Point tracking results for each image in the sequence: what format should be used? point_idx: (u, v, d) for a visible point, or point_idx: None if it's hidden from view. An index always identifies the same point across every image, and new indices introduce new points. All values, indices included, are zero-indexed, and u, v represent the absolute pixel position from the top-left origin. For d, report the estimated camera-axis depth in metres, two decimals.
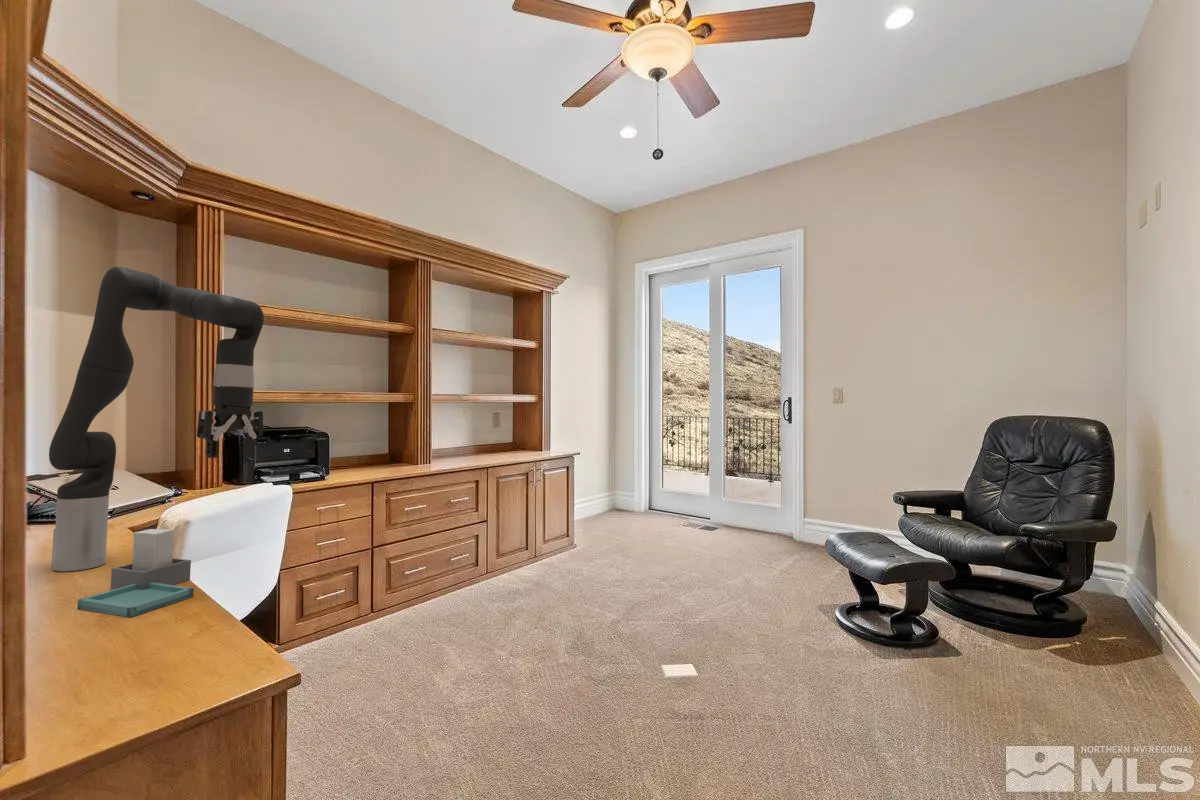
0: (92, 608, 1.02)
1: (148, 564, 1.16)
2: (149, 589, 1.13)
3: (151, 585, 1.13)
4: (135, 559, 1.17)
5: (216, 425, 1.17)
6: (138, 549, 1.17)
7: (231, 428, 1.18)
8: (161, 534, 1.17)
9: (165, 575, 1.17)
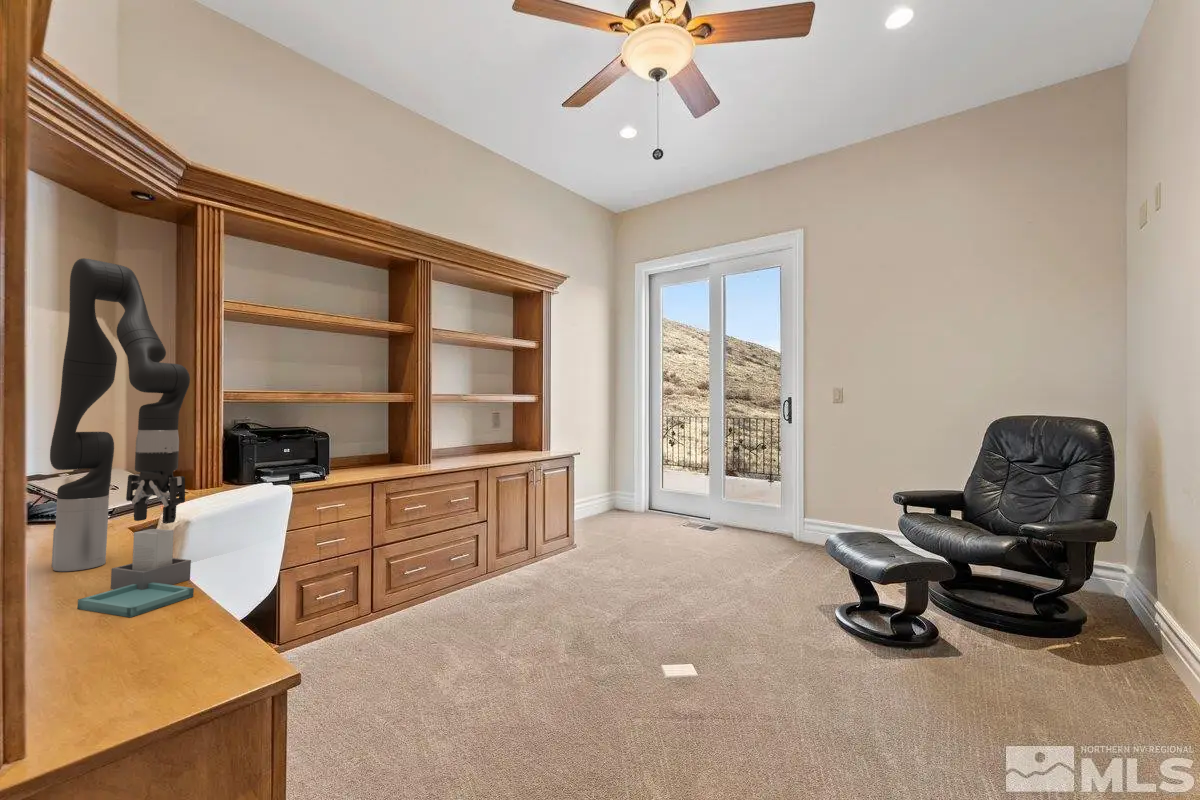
0: (92, 608, 1.02)
1: (148, 564, 1.16)
2: (149, 589, 1.13)
3: (151, 585, 1.13)
4: (135, 559, 1.17)
5: None
6: (138, 549, 1.17)
7: None
8: (161, 534, 1.17)
9: (165, 575, 1.17)
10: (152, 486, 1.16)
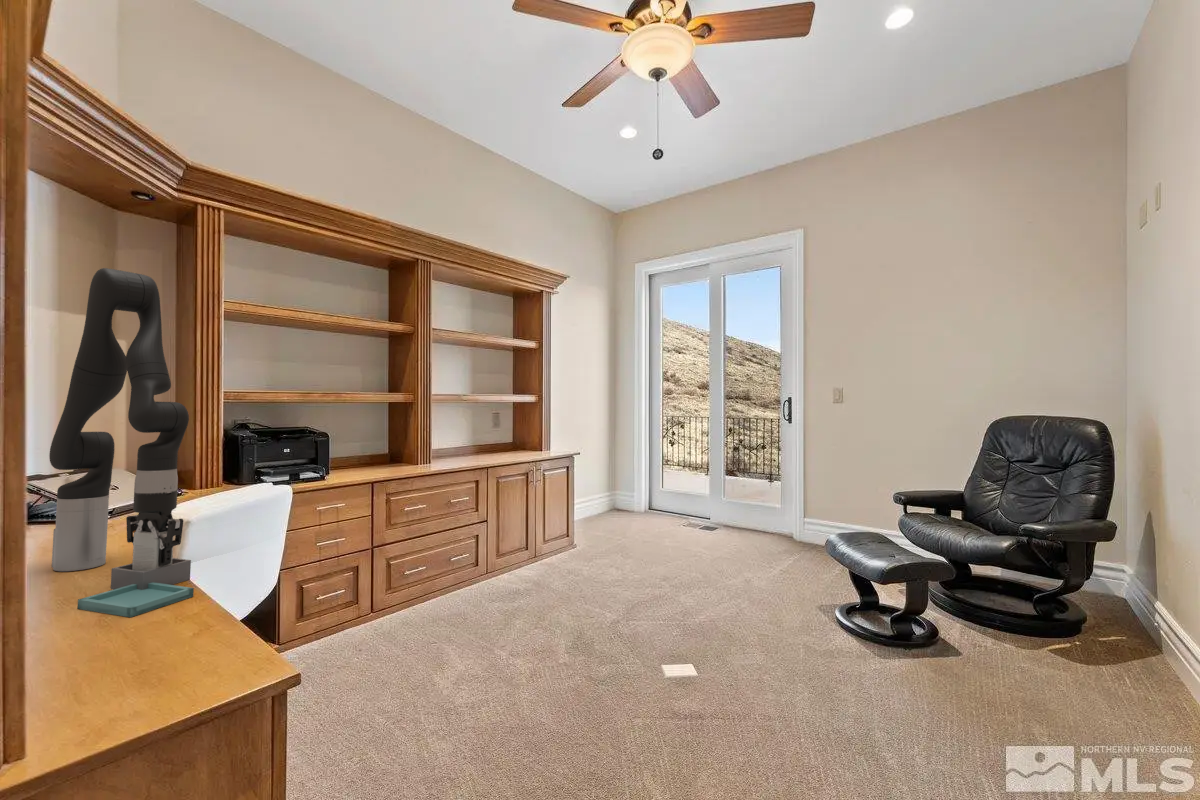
0: (92, 608, 1.02)
1: (148, 564, 1.16)
2: (149, 589, 1.13)
3: (151, 585, 1.13)
4: (135, 558, 1.17)
5: None
6: (138, 549, 1.17)
7: None
8: (161, 534, 1.17)
9: (165, 575, 1.17)
10: (151, 526, 1.16)
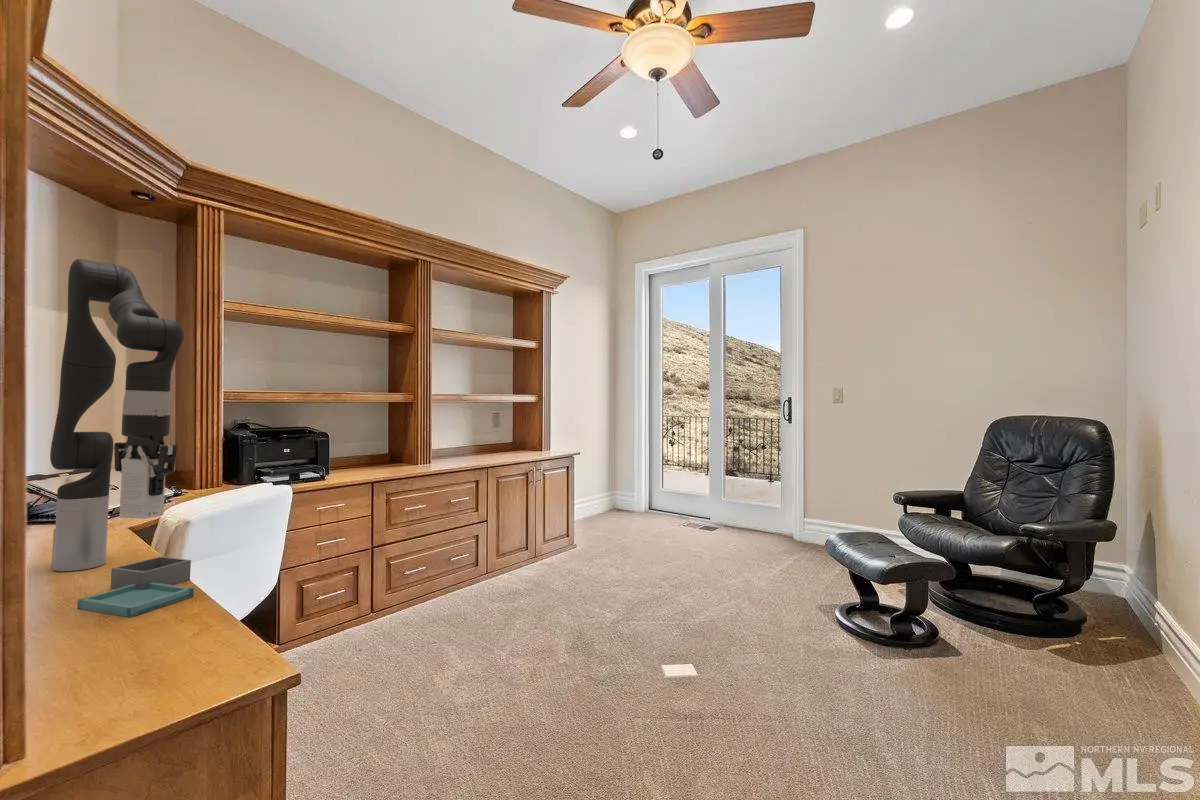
0: (92, 608, 1.02)
1: (137, 493, 1.06)
2: (149, 589, 1.13)
3: (151, 585, 1.13)
4: (123, 488, 1.06)
5: None
6: (127, 477, 1.06)
7: None
8: (152, 461, 1.07)
9: (165, 575, 1.17)
10: (141, 452, 1.06)
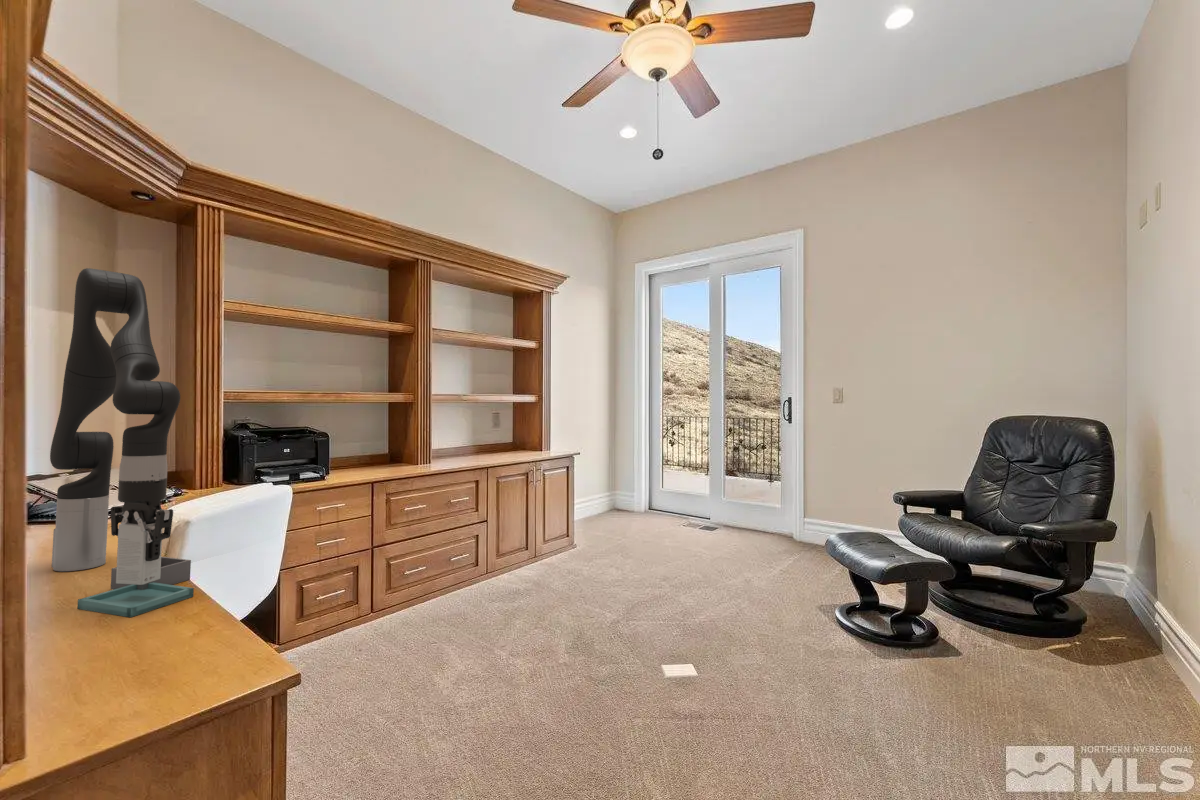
0: (92, 608, 1.02)
1: (134, 559, 1.05)
2: (149, 589, 1.13)
3: (151, 585, 1.13)
4: (119, 553, 1.06)
5: None
6: (123, 543, 1.06)
7: None
8: (148, 526, 1.06)
9: (165, 575, 1.17)
10: (137, 518, 1.05)
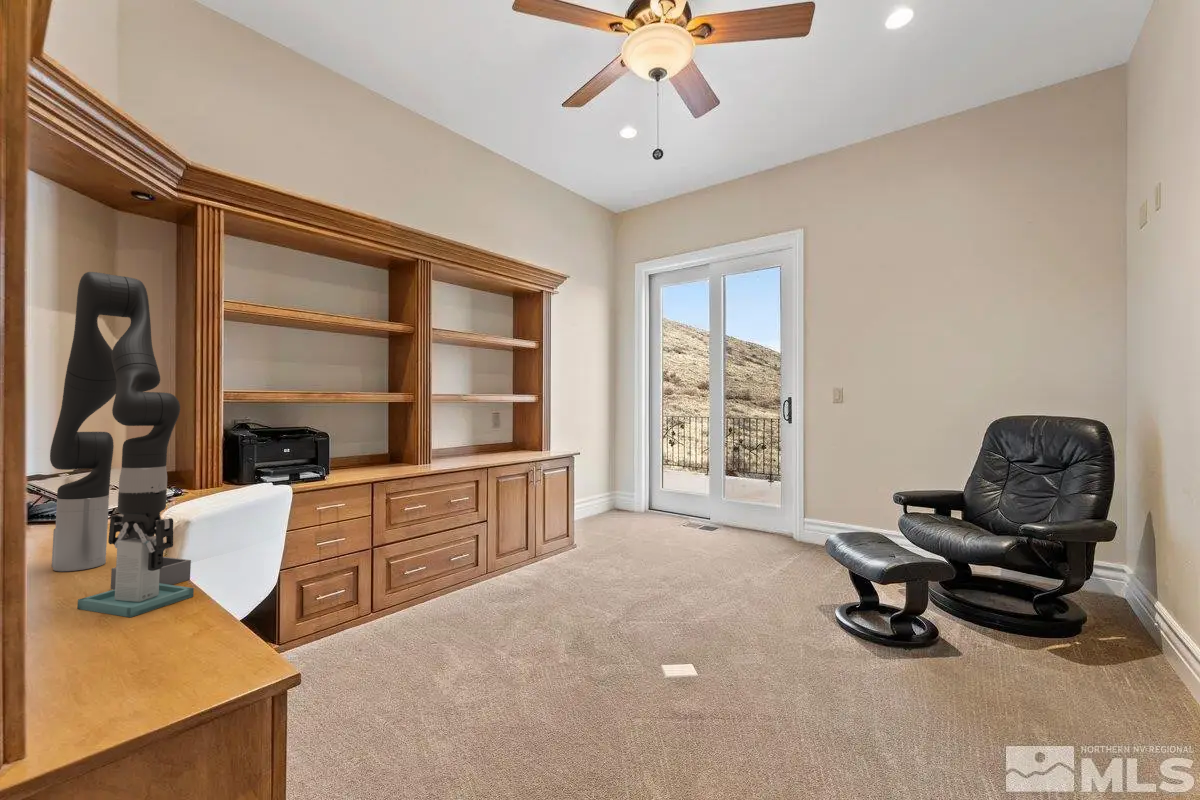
0: (92, 608, 1.02)
1: (132, 576, 1.05)
2: None
3: None
4: (118, 570, 1.06)
5: None
6: (122, 559, 1.06)
7: None
8: None
9: (165, 575, 1.17)
10: (137, 529, 1.05)
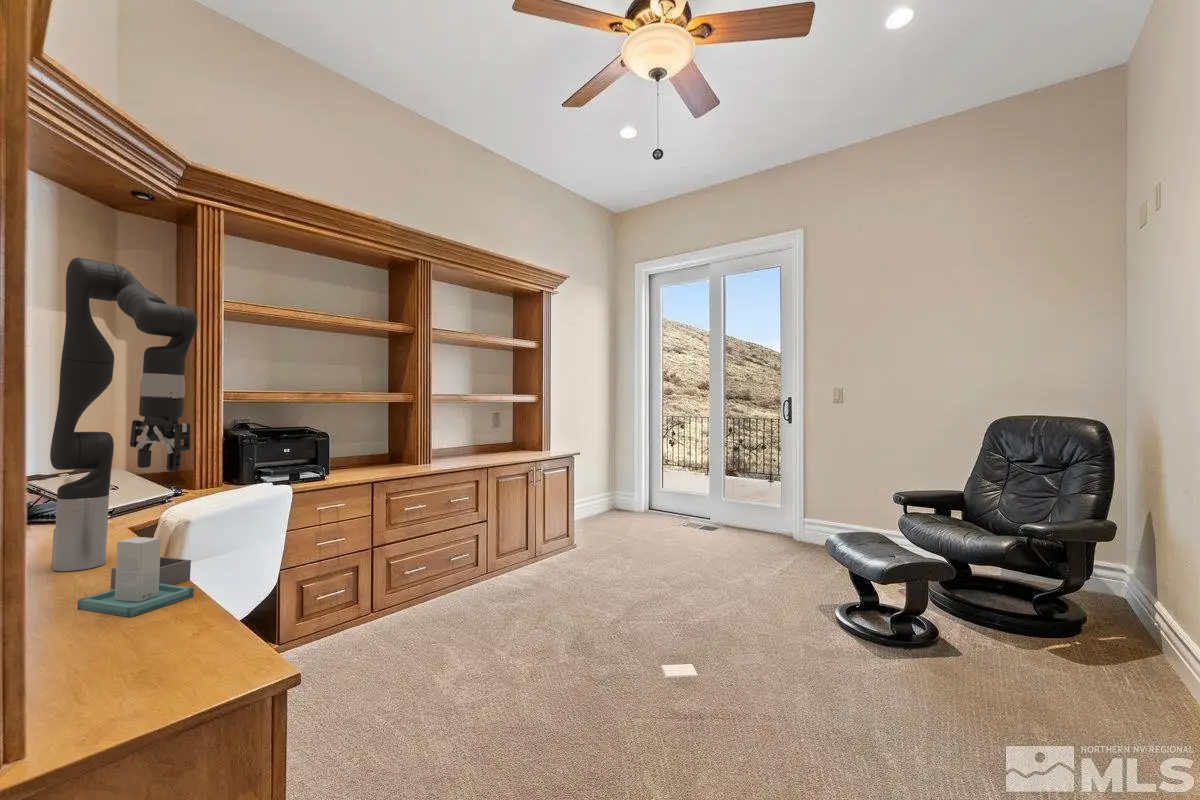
0: (92, 608, 1.02)
1: (132, 576, 1.05)
2: None
3: None
4: (118, 570, 1.06)
5: None
6: (121, 559, 1.06)
7: None
8: (146, 543, 1.06)
9: (165, 575, 1.17)
10: (156, 432, 1.12)
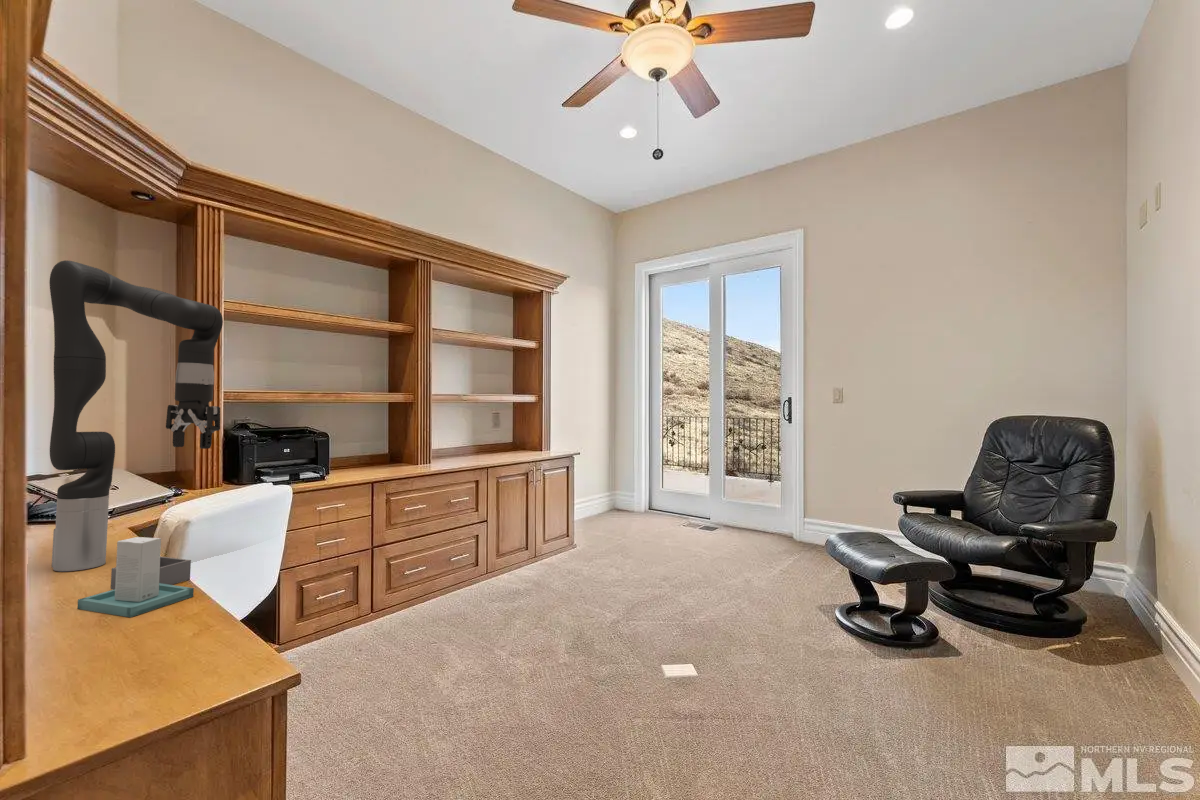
0: (92, 608, 1.02)
1: (132, 576, 1.05)
2: None
3: None
4: (118, 570, 1.06)
5: None
6: (122, 559, 1.06)
7: None
8: (146, 543, 1.06)
9: (165, 575, 1.17)
10: (190, 414, 1.27)
